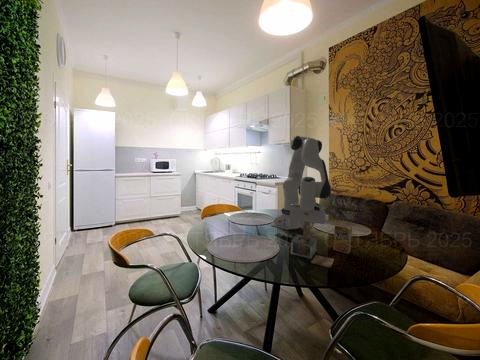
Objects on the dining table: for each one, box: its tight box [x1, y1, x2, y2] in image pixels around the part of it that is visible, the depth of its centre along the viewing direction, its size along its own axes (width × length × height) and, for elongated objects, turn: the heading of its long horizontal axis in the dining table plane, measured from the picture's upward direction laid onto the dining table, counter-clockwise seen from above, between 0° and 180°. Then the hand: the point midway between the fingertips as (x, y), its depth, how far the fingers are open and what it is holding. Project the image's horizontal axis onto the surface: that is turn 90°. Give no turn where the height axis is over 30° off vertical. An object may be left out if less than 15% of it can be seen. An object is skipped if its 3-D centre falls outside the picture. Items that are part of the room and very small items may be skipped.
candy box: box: [332, 224, 353, 255], centre depth 138 cm, size 9×4×15 cm, turn 50°
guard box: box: [290, 233, 318, 260], centre depth 136 cm, size 12×12×8 cm
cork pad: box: [310, 254, 335, 268], centre depth 125 cm, size 10×10×1 cm
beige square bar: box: [303, 212, 311, 239], centre depth 134 cm, size 3×3×16 cm
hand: (306, 228), depth 134 cm, fingers closed on beige square bar, 3 cm apart
